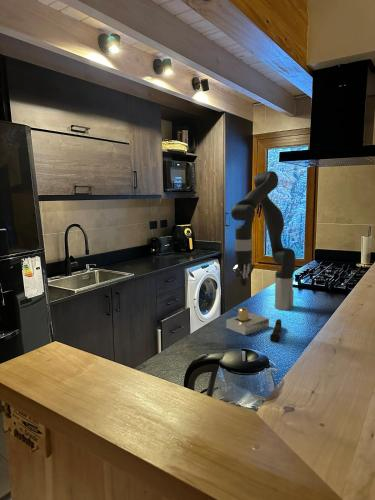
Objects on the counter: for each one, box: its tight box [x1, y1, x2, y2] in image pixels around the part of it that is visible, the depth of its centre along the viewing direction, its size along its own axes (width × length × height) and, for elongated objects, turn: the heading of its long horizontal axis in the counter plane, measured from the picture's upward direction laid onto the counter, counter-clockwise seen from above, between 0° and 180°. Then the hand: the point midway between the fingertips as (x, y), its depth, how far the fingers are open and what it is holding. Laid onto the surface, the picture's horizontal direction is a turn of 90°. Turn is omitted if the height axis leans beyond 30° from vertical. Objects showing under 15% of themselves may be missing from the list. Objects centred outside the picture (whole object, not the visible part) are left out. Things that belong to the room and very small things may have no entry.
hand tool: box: [269, 318, 282, 343], centre depth 155 cm, size 19×4×5 cm, turn 157°
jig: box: [225, 312, 270, 336], centre depth 164 cm, size 16×12×4 cm
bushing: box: [237, 307, 250, 323], centre depth 163 cm, size 5×5×9 cm
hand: (243, 286), depth 160 cm, fingers closed
